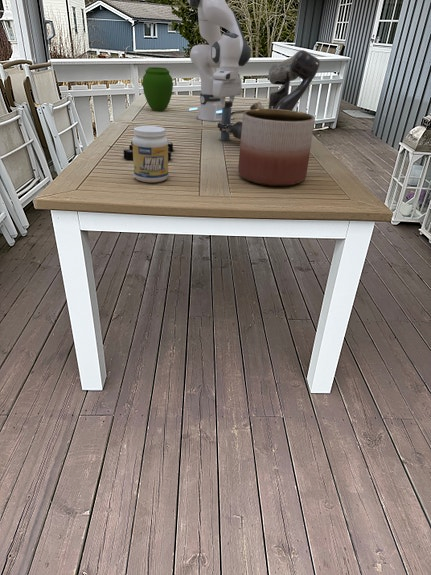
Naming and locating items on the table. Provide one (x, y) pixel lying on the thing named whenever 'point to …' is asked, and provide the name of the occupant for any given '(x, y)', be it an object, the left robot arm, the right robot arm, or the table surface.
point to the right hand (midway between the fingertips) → (222, 124)
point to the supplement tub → (150, 154)
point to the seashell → (257, 106)
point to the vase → (157, 88)
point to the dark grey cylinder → (226, 122)
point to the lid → (228, 103)
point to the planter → (275, 146)
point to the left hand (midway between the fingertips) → (226, 106)
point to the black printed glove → (129, 153)
